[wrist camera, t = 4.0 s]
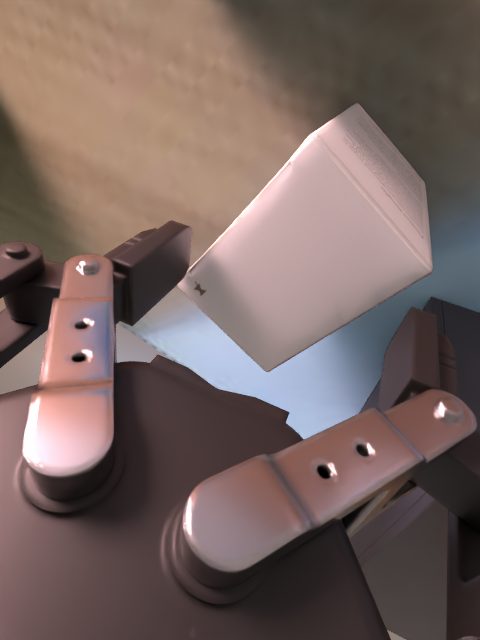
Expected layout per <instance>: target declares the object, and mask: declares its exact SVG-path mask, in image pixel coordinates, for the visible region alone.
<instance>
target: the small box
mask: <svg viewBox="0 0 480 640" xmlns="http://www.w3.org/2000/svg"><path fill="white" fill-rule="evenodd" d="M432 270H433V262H432V251H431V241H430V230H429V216H428V206H427V194H426V185H425V182H424V181H423V180H422V179H421V177H420V176H419V175H418V174H417V172H416V171H415V170H414V169H413V167H412V166H411V165H410V164H409V162H408V161H407V160H406V159H405V158H404V156H403V155H402V154H401V153H400V152H399V151H398V149H397V148H396V147H395V146H394V145H393V143H392V142H391V141H390V140H389V139H388V137H387V136H386V135H385V134H384V133H383V131H382V130H381V129H380V128H379V127H378V126H377V124H376V123H375V122H374V121H373V120H372V118H371V117H370V116H369V115H368V114H367V113H366V112H365V110H364V109H363V108H362V107H361V106H360V105H359V104H358V103H355V104H354V105H352V106H351V107H349V108H348V109H347V110H345V111H344V112H342V113H341V114H339V115H338V116H336V117H335V118H333V119H332V120H330V121H329V122H328V123H326V124H325V125H323V126H322V127H320V128H319V129H317V130H316V131H315V132H313V133H312V134H310V135H309V136H308V137H307V138H306V140H305V141H304V142H303V143H302V145H301V146H300V147H299V148H298V150H297V151H296V152H295V153H294V154H293V156H292V157H291V158H290V159H289V161H288V162H287V163H286V164H285V165H284V167H283V168H282V169H281V170H280V171H279V172H278V173H277V174H276V176H275V177H274V178H273V179H272V180H271V181H270V182H269V183H268V185H267V186H266V187H265V188H264V189H263V190H262V191H261V192H260V194H259V195H258V196H257V197H256V198H255V199H254V200H253V201H252V202H251V203H250V205H249V206H248V207H247V208H246V209H245V210H244V211H243V212H242V213H241V214H240V216H239V217H238V218H237V219H236V220H235V221H234V222H233V223H232V224H231V225H230V226H229V228H228V229H227V230H226V231H225V232H224V233H223V234H222V235H221V236H220V237H219V238H218V239H217V240H216V241H215V243H214V244H213V245H212V246H211V247H210V248H209V249H208V250H207V251H206V252H205V253H204V254H203V255H202V256H201V257H200V258H199V259H198V260H197V261H196V262H195V264H194V265H193V266H191V267H190V268H189V269H188V271H187V273H186V275H185V277H184V278H183V280H182V281H180V282H179V283H178V284H177V286H178V287H179V288H180V289H181V290H182V291H183V292H184V293H185V294H186V295H187V296H188V297H189V298H190V299H191V300H192V301H193V302H194V303H195V304H196V305H197V306H198V307H199V308H200V309H201V310H202V311H203V312H204V313H205V314H206V315H207V316H208V317H209V318H210V319H211V320H212V321H213V322H214V323H215V324H217V325H218V326H219V327H220V328H221V329H222V330H223V331H224V332H225V333H226V334H227V335H228V336H229V337H230V338H231V339H232V340H233V341H234V342H235V343H236V344H237V345H238V346H239V347H240V348H241V349H242V350H243V351H244V352H245V353H246V354H247V355H249V356H250V357H251V358H252V359H253V360H254V361H255V362H256V363H257V364H258V365H259V366H260V367H261V368H262V369H263V370H264V371H266V372H269V371H271V370H272V369H274V368H276V367H277V366H279V365H281V364H282V363H284V362H286V361H287V360H289V359H291V358H292V357H294V356H295V355H297V354H299V353H300V352H302V351H304V350H305V349H307V348H309V347H310V346H312V345H313V344H315V343H317V342H318V341H320V340H322V339H323V338H325V337H326V336H328V335H330V334H331V333H333V332H335V331H336V330H338V329H340V328H341V327H343V326H345V325H346V324H348V323H349V322H351V321H353V320H354V319H356V318H358V317H359V316H361V315H363V314H364V313H366V312H367V311H369V310H371V309H372V308H374V307H376V306H377V305H379V304H381V303H382V302H384V301H386V300H387V299H389V298H391V297H392V296H394V295H396V294H397V293H399V292H401V291H402V290H404V289H406V288H407V287H409V286H411V285H412V284H414V283H416V282H417V281H419V280H420V279H422V278H424V277H426V276H428V275H430V274H431V273H432Z"/></svg>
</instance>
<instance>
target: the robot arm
mask: <svg viewBox="0 0 480 640" xmlns="http://www.w3.org/2000/svg"><path fill="white" fill-rule="evenodd" d="M191 241H192V229H191V227H189V226H186V225H183V224H181V223H178V222H175V221H169V222H168V223H166V224H165V225H163V226H162V227H160V228H159V229H156V228H155V229H151V230H147V231H143V232H141V233H139V234H138V235H136V236H134V237H133V239H132V238H131V239H130V240H128V241H126V243H123V244H122V245H120V246H118V247H117V248H115V249H114V250H112V251H110V252H109V253H107V254H106V255H104V256H101V255H96V254H82V255H77V256H74V257H72V258H70V259H68V260H67V261H66V263H65V264H63V263H57V262H51V261H45V260H44V259H43V254H42V249H41V248H40V247H39V246H37V245H36V244H33V243H29V242H8V243H4V244H1V245H0V298H2V297H3V298H4V301H5V305H6V309H4V310H3V311H1V312H0V368H1V367H2V366H3V365H4V364H6V363H7V362H8V361H9V360H11V359H12V358H13V357H14V356H16V355H17V354H18V353H19V352H21V351H22V350H23V349H24V348H26V347H27V346H28V345H29V344H31V343H32V342H33V341H34V340H35V339H37V338H38V337H39V336H40V335H42V334H43V333H44V332H45V331H47V330H48V331H47V337H46V342H45V348H44V354H43V359H42V365H41V371H40V377H39V382H38V384H37V385H34V386H30V387H26V388H23V389H19V390H16V391H12V392H9V393H5V394H1V395H0V640H391V639H390V636H389V634H388V632H387V629H386V627H385V624H384V622H383V619H382V617H381V615H380V612H379V610H378V607H377V605H376V602H375V600H374V598H373V595H372V593H371V590H370V588H369V586H368V583H367V581H366V578H365V576H364V574H363V571H362V569H361V566H360V564H359V561H358V559H357V557H356V554H355V552H354V549H353V547H352V545H351V542H350V540H349V538H350V537H352V536H353V535H354V534H356V533H357V532H358V531H360V530H361V529H362V528H363V527H364V526H365V525H367V524H368V523H369V522H370V521H371V520H372V519H374V518H375V517H376V516H378V515H379V514H380V513H382V512H383V511H385V510H386V509H388V508H389V507H391V506H392V505H393V504H395V503H396V502H398V501H399V500H401V499H402V498H404V497H405V496H406V495H408V494H409V493H411V492H412V491H414V490H415V489H416V488H418V487H420V488H421V489H422V490H424V491H425V492H426V493H428V494H429V495H430V496H432V497H433V498H434V499H435V500H437V501H438V502H439V503H441V504H442V505H443V506H445V507H446V508H447V509H448V538H447V618H446V640H480V432H479V431H478V430H477V429H476V427H477V421H476V418H475V416H474V414H473V412H472V411H471V409H470V408H469V407H468V406H467V405H466V404H465V403H464V402H463V401H462V400H460V394H459V385H458V376H457V371H456V369H457V367H456V361H455V359H456V358H455V349H454V346H453V345H452V343H451V342H450V340H449V339H448V337H447V336H446V335H444V334H441V333H438V332H437V318H436V315H433V314H431V313H428V312H425V311H422V310H419V309H417V308H414V307H412V308H411V309H410V310H409V311H408V313H407V315H406V316H405V318H404V320H403V321H402V323H401V325H400V326H399V328H398V330H397V331H396V333H395V335H394V336H393V338H392V340H391V342H390V343H389V346H388V348H387V350H386V353H385V356H384V362H383V370H382V378H381V386H380V394H379V402H378V407H373V408H370V409H368V410H366V411H364V412H362V413H359V414H357V415H355V416H353V417H351V418H349V419H347V420H345V421H343V422H341V423H338V424H336V425H334V426H332V427H330V428H328V429H326V430H324V431H322V432H320V433H317V434H315V435H313V436H311V437H309V438H307V439H305V440H303V438H302V437H301V436H300V435H299V434H298V433H297V432H296V431H295V430H294V429H293V428H291V427H290V426H289V425H288V424H286V420H287V417H288V415H289V412H287V411H285V410H283V409H280V408H278V407H276V406H274V405H271V404H269V403H267V402H265V401H262V400H260V399H258V398H256V397H251V396H247V395H242V394H237V393H233V392H228V391H223V390H219V389H217V388H215V387H213V386H212V385H211V384H209V383H208V382H207V381H205V380H204V379H203V378H201V377H200V376H199V375H197V374H196V373H194V372H193V371H192V370H190V369H189V368H187V367H185V366H183V365H181V364H178V363H176V362H174V361H171V360H169V359H167V358H164V357H162V356H160V355H157V356H156V357H155V358H154V359H153V360H152V362H151V363H147V362H135V361H133V362H131V361H129V362H120V363H117V361H116V324H117V323H118V322H119V321H122V322H124V323H126V324H129V325H131V326H133V325H134V324H135V323H136V322H137V321H138V320H140V319H141V318H142V317H143V316H144V315H145V314H146V313H147V312H148V311H149V310H150V309H151V308H152V307H154V306H155V305H156V304H157V303H158V302H159V301H160V300H161V299H162V298H163V297H164V296H165V295H166V294H168V293H169V292H170V291H171V290H172V289H173V288H174V287H175V286H176V285H177V284H178V283H179V282H180V281H182V280H183V278H184V277H185V275H186V273H187V271H188V268H189V261H190V251H191Z"/></svg>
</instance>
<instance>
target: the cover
mask: <svg viewBox="0 0 480 640" xmlns="http://www.w3.org/2000/svg"><path fill="white" fill-rule="evenodd" d="M423 311H425V312H428V313H431V314H433V315H436V318H437V332H438V333H441V334H444V335H446V336H447V337H448V339H449V340H450V342H451V343H452V345H453V346H454V349H455V358H456V359H455V361H456V367H457V369H456V371H457V376H458V385H459V394H460V400H462V401H463V402H464V403H465V404H466V405H467V406H468V407H469V408H470V409H471V411H472V412H473V414H474V416H475V418H476V421H477V427H476V429H477V430H478V431H479V432H480V313H478V312H475V311H472V310H469V309H466V308H463V307H460V306H457V305H454V304H451V303H448V302H445V301H441V300H440V299H437V298H434V297H431V298H430V300H429V301H428V303H427V305H426V306H425V308H424V309H423ZM381 378H382V377H381ZM380 386H381V379H380V380H379V382H378V384H377V385H376V387H375V388H374V390H373V392H372V393H371V395H370V397H369V398H368V400H367V401H366V403H365V405H364V406H363V408H362V409H361V411H360V413H362V412H364V411H366V410H368V409H370V408H373V407H378V402H379V394H380ZM447 538H448V509H447V508H446V507H445V506H443V505H442V504H441V503H439V502H438V501H437V500H435V499H434V498H433V497H432V496H430V495H429V494H428V493H426V492H425V491H424V490H422V489H421V488H420V487H418V488H416V489H415V490H414V491H412V492H411V493H409V494H408V495H406V496H405V497H404V498H402V499H401V500H399V501H398V502H396V503H395V504H393V505H392V506H391V507H389V508H388V509H386V510H385V511H383V512H382V513H380V514H379V515H378V516H376V517H375V518H374V519H372V520H371V521H370V522H369V523H368V524H367V525H365V526H364V527H363V528H362V529H361V530H360V531H358V532H357V533H356V534H354V535H353V536H352V537H350V538H349V540H350V542H351V545H352V547H353V549H354V552H355V554H356V557H357V559H358V561H359V564H360V566H361V569H362V571H363V574H364V576H365V578H366V581H367V583H368V586H369V588H370V590H371V593H372V595H373V598H374V600H375V602H376V605H377V607H378V610H379V612H380V615H381V617H382V619H383V622H384V624H385V627H386V629H387V630H389V631H391V632H393V633H395V634H397V635H399V636H401V637H403V638H405V639H407V640H446V618H447Z"/></svg>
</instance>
